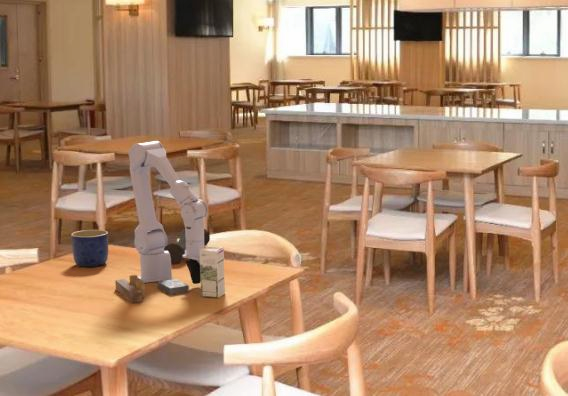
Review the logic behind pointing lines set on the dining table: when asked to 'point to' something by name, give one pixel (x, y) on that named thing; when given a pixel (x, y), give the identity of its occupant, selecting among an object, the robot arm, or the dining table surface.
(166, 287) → the steel plate
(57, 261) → the dining table surface
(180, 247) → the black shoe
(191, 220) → the robot arm
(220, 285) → the syrup box
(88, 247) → the planter
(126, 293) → the bench dog strip
